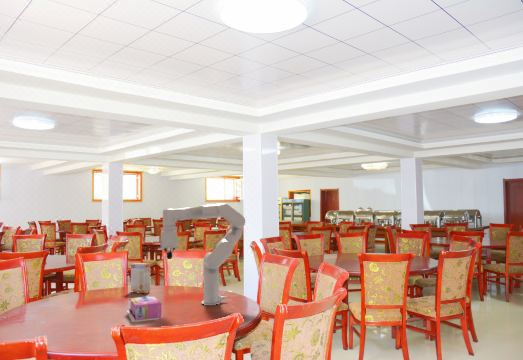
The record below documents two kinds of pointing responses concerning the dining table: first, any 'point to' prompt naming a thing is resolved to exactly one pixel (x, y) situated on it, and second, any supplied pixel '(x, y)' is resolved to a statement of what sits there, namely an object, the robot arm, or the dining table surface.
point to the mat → (139, 320)
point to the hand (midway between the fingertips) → (169, 258)
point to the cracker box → (140, 277)
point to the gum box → (145, 307)
